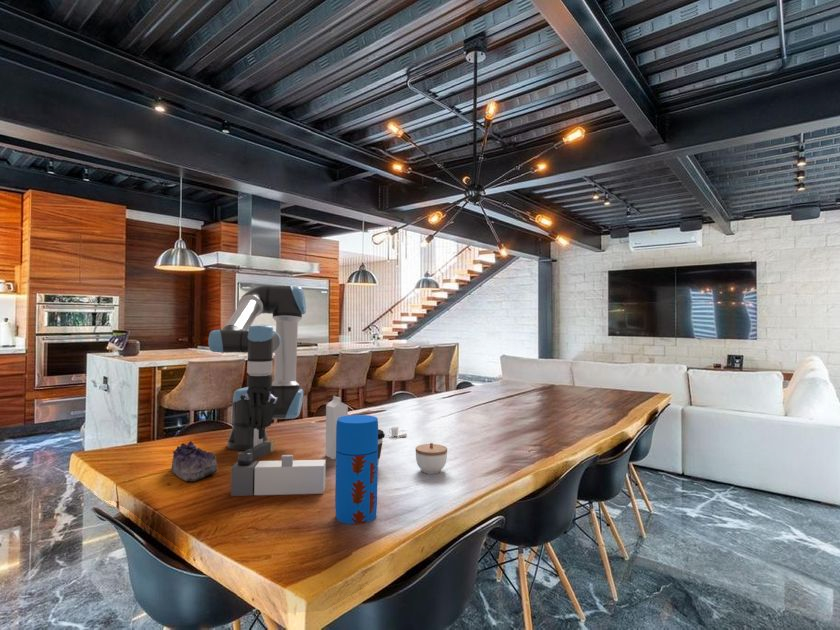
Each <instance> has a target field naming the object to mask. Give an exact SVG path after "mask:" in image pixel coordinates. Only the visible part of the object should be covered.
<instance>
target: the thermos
mask: <svg viewBox="0 0 840 630" xmlns="http://www.w3.org/2000/svg"><path fill="white" fill-rule="evenodd" d="M378 429H379V420H378V417H376V416H373V415H367V414H351V415H350V414H348V416H343V417H340V418H338V419H337V425H336V459H335V481H334V482H335V483H334V484H335V485H334V486H335V487H334V488H335V489H334V491H335V492H334V493H335V495H334V497H335V501H334V503H335V504H334V506H335V507H334V508H335V519H336V520H337V521H338V522H340V523H342V524H346V525H362V524H366V523H370V522H371V521H374V519H376V517H377V511H378V510H377V509H378V508H377V507H378V476H379V475H378V470H379V469H378V468H379V467H378V466H379V463H378Z"/></svg>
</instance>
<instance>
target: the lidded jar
mask: <svg viewBox="0 0 840 630" xmlns="http://www.w3.org/2000/svg"><path fill="white" fill-rule="evenodd" d="M447 456H448V447H446V446H445V445H442V444H436V443H434V442H430V443H423V444H420V445H418V446H416V447H415V460H416V464H417V466H418V468H419V469H420V470H421V472H422V473H424V474H427V475H436V474H439V473H440V472H441V471H442V470H443V469H444V467H445V466H446V463H447V458H448V457H447Z"/></svg>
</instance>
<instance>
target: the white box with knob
mask: <svg viewBox="0 0 840 630" xmlns="http://www.w3.org/2000/svg"><path fill="white" fill-rule="evenodd" d="M326 460H327V459H300V460H299V459H298V460H297V459H296V460H294V455H293V454H282V455H281V460H259V461H258V460H255V461H253V462H252V464H250V465H238V460H237V461H235V463H234V464H233V466H232V467H230V497H241V496H243V497H245V496H246V497H247V496H253V495H254V496H279V495H281V496H282V495H285V496H286V495H311V494H312V495H315V494H318V495H320V494H324V493H325V490H326V489H325V488H326V477H327V476H326V475H327V474H326V471H327V470H326V469H327V467H326V465H327V464H326V462H327V461H326Z"/></svg>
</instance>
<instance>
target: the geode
mask: <svg viewBox="0 0 840 630" xmlns="http://www.w3.org/2000/svg"><path fill="white" fill-rule="evenodd" d="M172 453H173V455H172V461H171V468H170V471H172V473H173V474H174V475H176V477H178V479H181V480H182V481H185V482H191V483H194V482H196V481H198V480H200V479H203V478H205V477H208V476H210V475H213V474H216V473H218V463H217V460H218V459H217V457H216V455H215V454H214V453H213V452H211V451H208V452H207V451H206V450H203V449H201V448H199V447H198V448H197V445H195V444H194V442H192V441H189V442H188V443H187V444H186V443H181V444H180V446H177V447H176V449H175V450H173V451H172Z"/></svg>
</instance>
